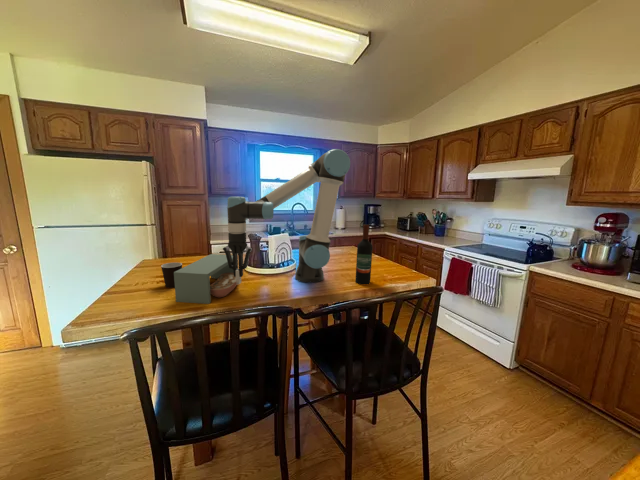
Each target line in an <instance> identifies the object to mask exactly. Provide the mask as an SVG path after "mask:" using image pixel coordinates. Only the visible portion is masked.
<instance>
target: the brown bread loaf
mask: <svg viewBox="0 0 640 480" xmlns="http://www.w3.org/2000/svg"><path fill="white" fill-rule="evenodd" d="M236 286H238V284H236V277H234V273H224V274H222V275H220V277H219V278H218V279H216V280H215V281H214V282H213V283H210V295H212V296H213V297H215V298H223V297H226V296H227V295H228V294H230V293H231V292H232V291H234V289H235V288H236Z"/></svg>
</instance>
